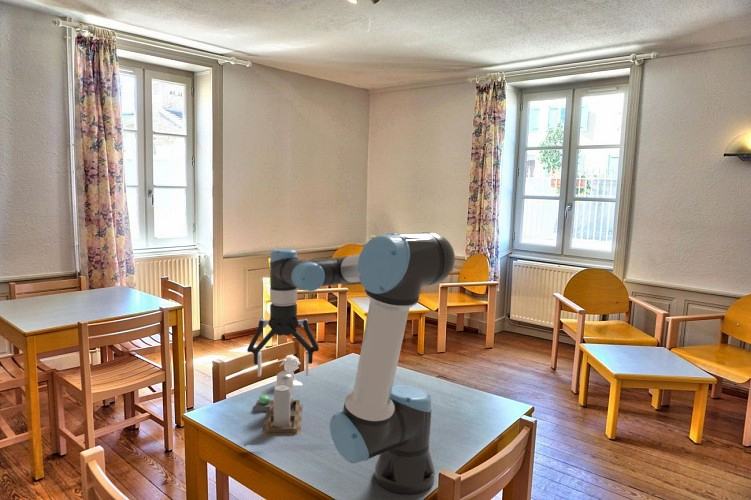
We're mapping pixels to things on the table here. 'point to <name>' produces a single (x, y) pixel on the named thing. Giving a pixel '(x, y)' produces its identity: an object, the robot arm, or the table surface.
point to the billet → (286, 383)
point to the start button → (264, 399)
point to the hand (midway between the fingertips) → (283, 374)
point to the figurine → (291, 367)
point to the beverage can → (282, 405)
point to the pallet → (269, 419)
